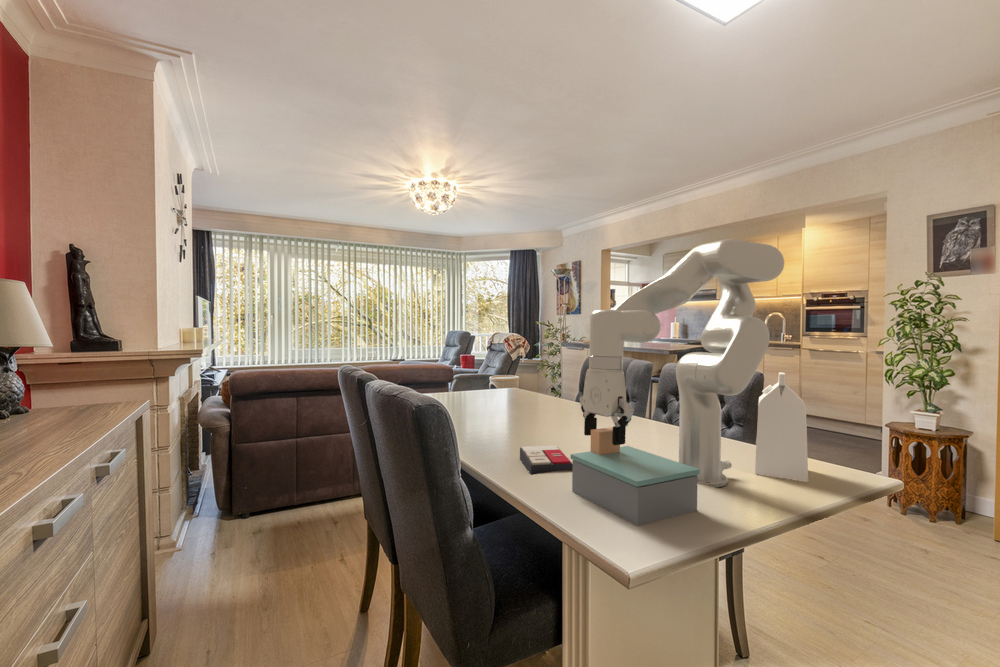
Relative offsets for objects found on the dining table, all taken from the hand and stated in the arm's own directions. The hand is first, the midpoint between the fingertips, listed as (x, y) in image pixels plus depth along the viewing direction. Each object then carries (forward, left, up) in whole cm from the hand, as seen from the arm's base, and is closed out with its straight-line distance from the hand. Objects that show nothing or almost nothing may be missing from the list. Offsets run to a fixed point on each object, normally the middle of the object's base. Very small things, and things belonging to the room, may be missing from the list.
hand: (603, 439), depth 106 cm
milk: (-52, +9, -12) cm, 55 cm away
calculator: (+1, -23, -13) cm, 26 cm away
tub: (0, +9, -12) cm, 15 cm away
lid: (0, +9, -4) cm, 9 cm away
